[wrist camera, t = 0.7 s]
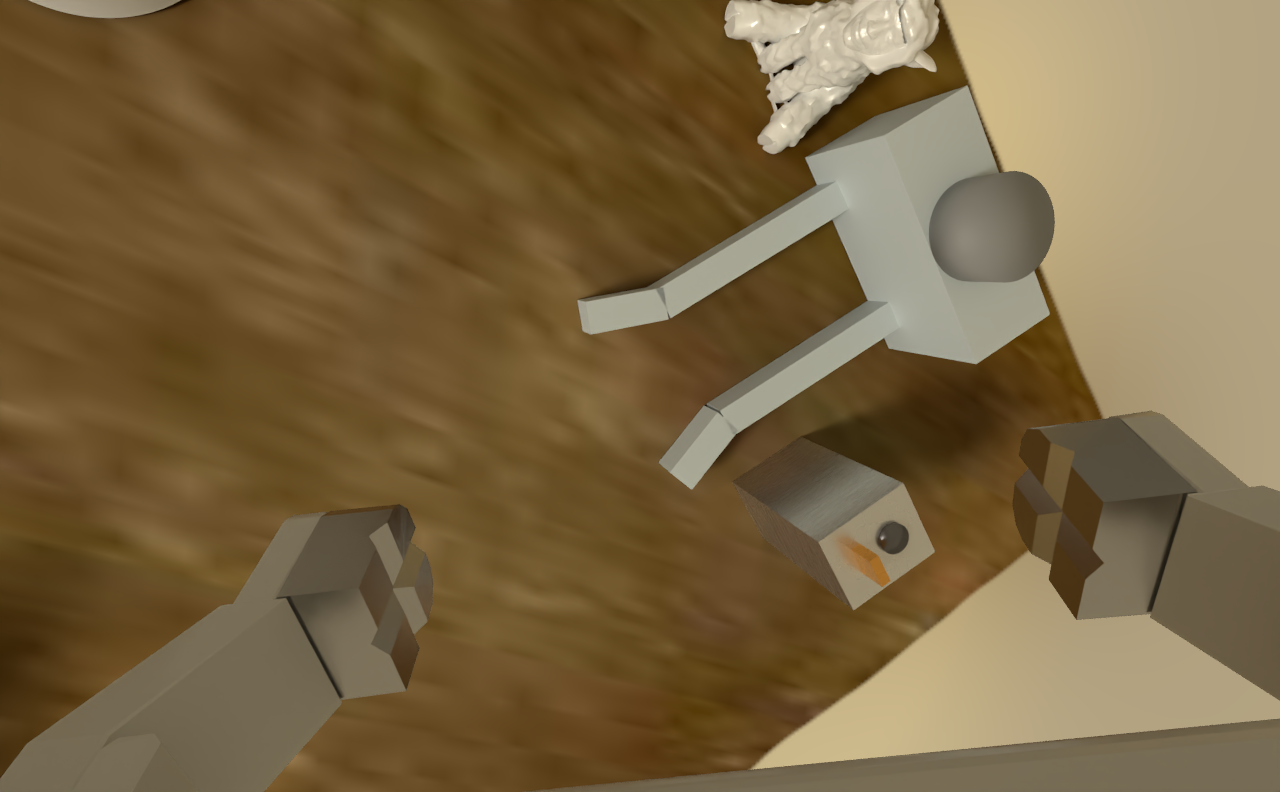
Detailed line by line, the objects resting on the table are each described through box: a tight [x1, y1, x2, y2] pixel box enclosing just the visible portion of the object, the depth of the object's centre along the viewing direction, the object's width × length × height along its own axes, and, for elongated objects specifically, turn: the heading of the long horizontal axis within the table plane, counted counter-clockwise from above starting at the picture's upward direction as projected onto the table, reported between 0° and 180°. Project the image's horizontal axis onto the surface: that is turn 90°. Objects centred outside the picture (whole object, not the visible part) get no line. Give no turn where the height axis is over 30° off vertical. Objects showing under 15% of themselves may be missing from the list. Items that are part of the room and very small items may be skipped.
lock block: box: [733, 437, 935, 610], centre depth 47 cm, size 5×6×14 cm
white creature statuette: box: [724, 0, 939, 154], centre depth 43 cm, size 10×9×12 cm
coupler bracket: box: [577, 86, 1055, 490], centre depth 45 cm, size 15×25×12 cm, turn 120°
